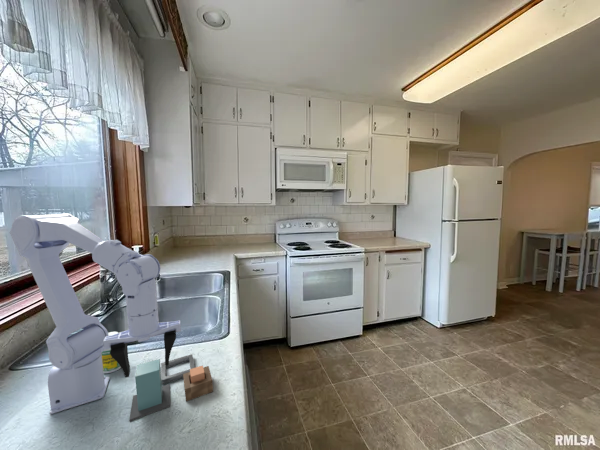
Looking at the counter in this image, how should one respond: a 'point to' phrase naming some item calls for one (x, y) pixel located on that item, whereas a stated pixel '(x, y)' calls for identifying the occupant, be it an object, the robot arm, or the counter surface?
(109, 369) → the supplement bottle
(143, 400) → the pale teal upright block
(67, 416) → the counter surface
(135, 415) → the rubber mat
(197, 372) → the orange block
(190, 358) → the holder collar
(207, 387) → the housing
